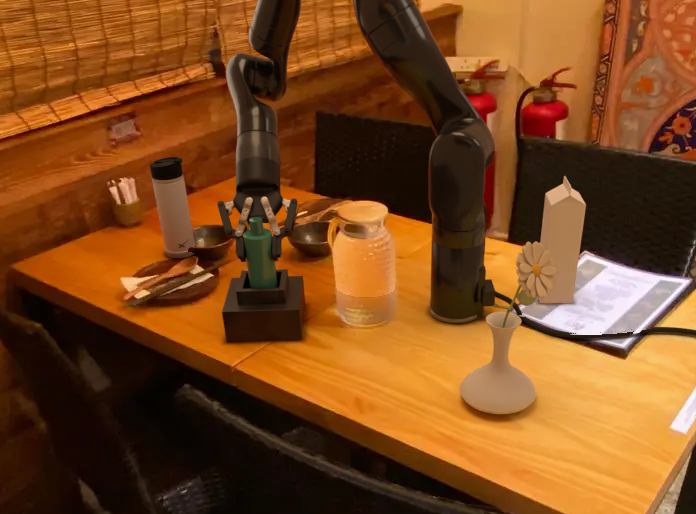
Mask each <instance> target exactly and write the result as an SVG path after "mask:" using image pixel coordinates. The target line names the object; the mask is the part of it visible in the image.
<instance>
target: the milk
mask: <svg viewBox="0 0 696 514" xmlns="http://www.w3.org/2000/svg"><path fill="white" fill-rule="evenodd" d="M586 209H587V204H586V202H585V200H584V199H583V197H582V195H581V194H580V192H579V191H578V190H575V189H574V188H573V187H572V185H571V184H570V182H569V180H568V178H567V176H566V175H564V176H563V181H562V184H559V185H557V186H556V187H554V188H552V189H550V190H549V191H547V192H545V195H544V204H543V213H542V223H541V233H540V242H539V243H542V245H543V246H544V250H546V251H549V252H550V253H551V258H552V260H553V261H554V266H553V267H554V268H556V270H557V273H556V274H555V275H553V276H554V278H555V283H554V284H553V290H549V289H547V292H548V293H547V297H546V298H544V297H542V298H539V297H538V298H537V299H538V301H539V304H573V302H574V295H575V288H576V280H577V272H578V267H579V259H580V251H581V244H582V238H583V231H584V222H585V217H586V216H585V214H586Z"/></svg>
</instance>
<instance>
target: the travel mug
mask: <svg viewBox="0 0 696 514" xmlns="http://www.w3.org/2000/svg"><path fill="white" fill-rule="evenodd" d="M182 163H183V158H181V157H179V156H169V157H168V156H167V157H163V158H160V159H156V160H154V161H153V162H152V163H150V164H149V171H150V175H151V182H152V188H153V192H154V198H155V203H156V209H157V214H158V219H159V224H160V230H161V235H162V241H163V245H164V251H165V255H166V256H167V257H169V258H171V259H185V258H186V259H187V258H189V257H191V256H193V255H194V254H195V253H192V252H188V249H189V248H190V247H194V246H195V247H196V242H195V237H194V231H193V224H192V219H191V213H190V206H189V201H188V195H187V189H186V188H187V187H186V183H185V177H184V171H183V166H182Z"/></svg>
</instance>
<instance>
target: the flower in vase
mask: <svg viewBox="0 0 696 514" xmlns="http://www.w3.org/2000/svg"><path fill="white" fill-rule="evenodd" d="M515 266H516V267H517V268H516V269H515V271H516V272H515V273H516V275H517V284H518V286H517V289H516V292H515V294H514V296H513V299H512V302H511V305H510V304H509V306H506V305H499V304H498V303H496V302H495V303H494V306H492V307H493V308H495V309H503V310H507V311H495V312H492V313H490V314H488V315H487V316H486V317H485V322H486V324H487V325H488V326H489V328H490V330H491V333H492V340H493V341H492V342H493V349H492V357H491V360H490V362H488V363H487V364H484V365H482V366H479V367H477V368H475V369H473V370H472V371H471V372H469V373H468V374H466V375H465V376H464V378H463V379H462V382H461V384H460V386H459V393H460V395H461V397H462V399H463V400H464V401H465V402H466V404H468V405H469V406H470V407H471V408H473V409H475V410H477V411H480V412H482V413H486V414H493V415H509V414H516V413H518V412H521V411H523V410H525V409H526V408H528V407H529V406H530V405H532V404H533V402H534V401H535V399H536V396H537V391H536V388H535V385H534V382H533V381H532V379H531V378H530V377H529V376H528V375H526V374H525V373H524V372H523V371H522V370H520V369H518V368H517V367H515V366H513V365H511V363H510V359H509V353H510V345H511V340H512V338H513V334H514V332H515V331H516V329H517V328H518V327H519V326H520V325H521V324H522V320H521V318H520V317H519V316H518V315H517V314H515V313H513V312H511V310H512V309H513V307H512V306H513V304H514V302H516V299H517V301H518V302H519V303H520V304H521V305H522V306H524V307H528V306H531V305H533V304H534V303H536V301H537V300H538V299H539V298H542V297H544V298H546V297H547V293H548V292H547V289H549V290H553V284H554V283H555V278H554V276H553V275H555V274H556V273H557V270H556V268H554V267H553V266H554V261H553V260H552V258H551V253H550V252H549V251H546V250H544V246H543V245H542V243H540V242H538V241H534V242H533V243H532V242H530V241H527V242H526V243H525V244H524V245H523V246H522V248H521V252H518V253H517V258H516V261H515ZM538 297H539V298H538Z"/></svg>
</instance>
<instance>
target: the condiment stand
mask: <svg viewBox="0 0 696 514" xmlns="http://www.w3.org/2000/svg"><path fill="white" fill-rule="evenodd" d="M276 274H277V283H278V288H251V289H250V284H249V276H248V269H247V270H241V271H240V275H239V277H231V278H230V282H229V285H228V289H227V291H226V292H227V293H226V296H225V300H224V303H223V307H222V310H221V315H222V322H223V328H224V335H225V341H226V343H255V342H285V341H286V342H287V341H288V342H289V341H302V340H303V333H304V325H305V324H304V323H305V313H306V295H305V284H304V283H305V281H304V275H289V268H282V269H281V268H280V269H276Z"/></svg>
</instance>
